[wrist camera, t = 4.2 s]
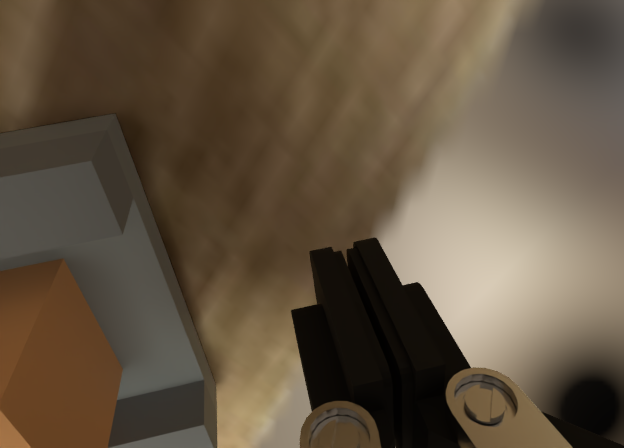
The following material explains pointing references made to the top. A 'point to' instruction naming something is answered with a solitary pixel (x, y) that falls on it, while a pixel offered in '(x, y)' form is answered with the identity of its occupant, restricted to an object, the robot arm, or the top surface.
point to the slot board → (110, 272)
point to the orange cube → (53, 362)
